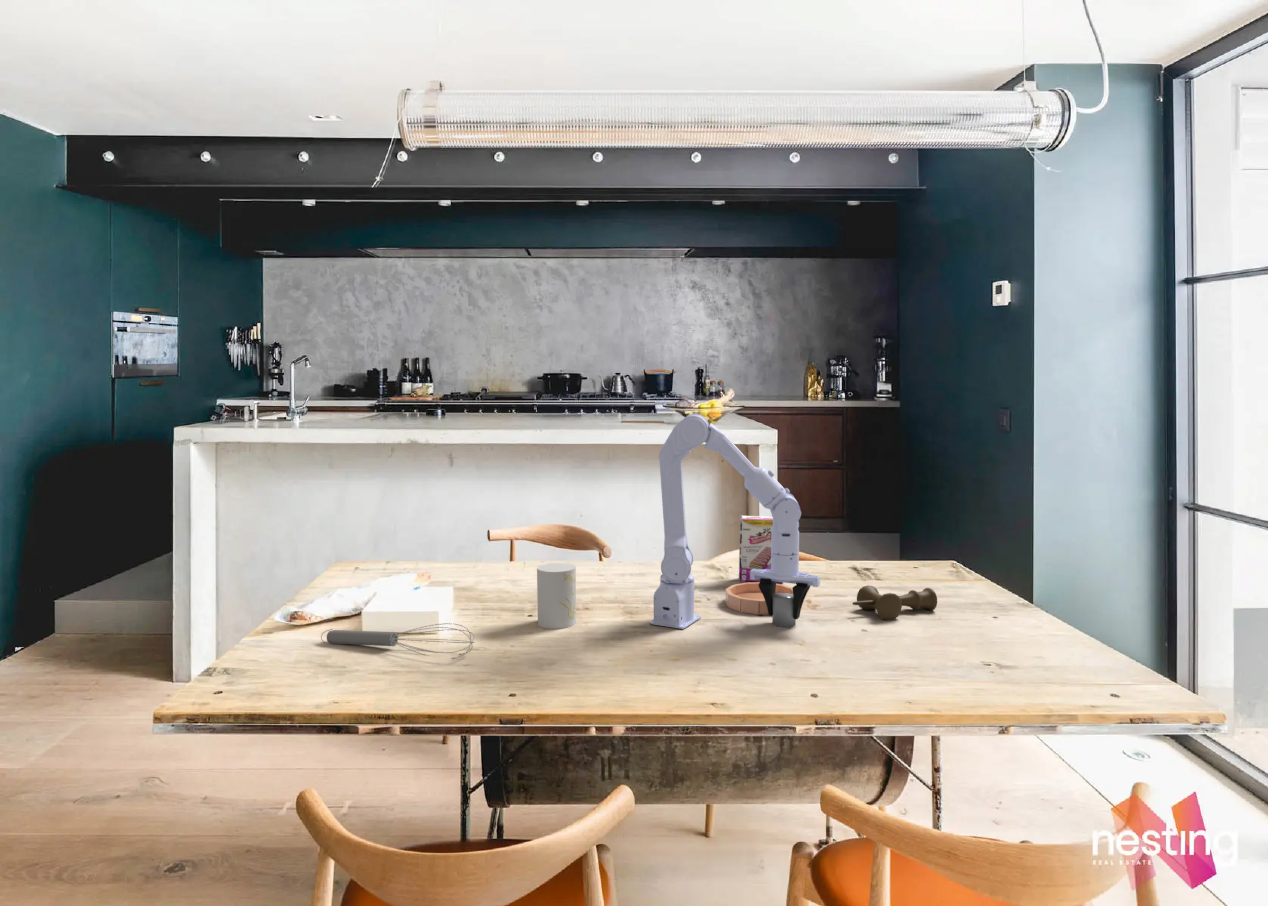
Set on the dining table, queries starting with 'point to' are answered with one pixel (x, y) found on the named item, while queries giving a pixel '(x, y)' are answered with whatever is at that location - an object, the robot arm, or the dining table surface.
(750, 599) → the bowl
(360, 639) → the kitchen whisk
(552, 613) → the white cylinder
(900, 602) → the kendama
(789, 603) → the grey cylinder
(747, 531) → the candy bar box
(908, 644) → the dining table surface
